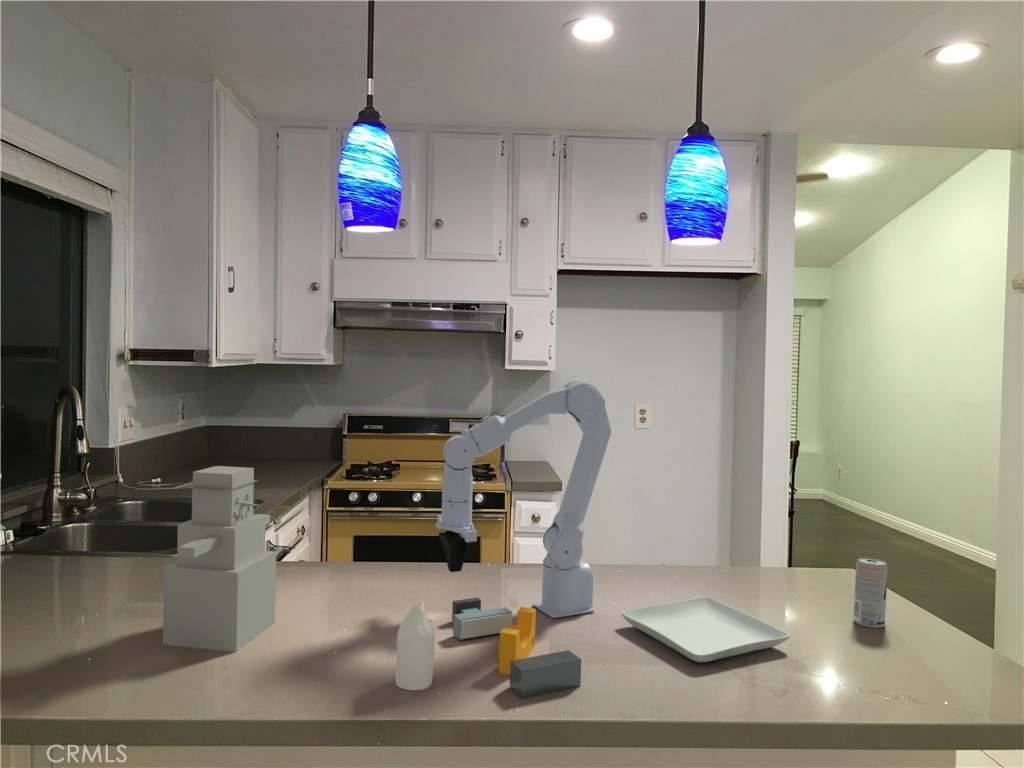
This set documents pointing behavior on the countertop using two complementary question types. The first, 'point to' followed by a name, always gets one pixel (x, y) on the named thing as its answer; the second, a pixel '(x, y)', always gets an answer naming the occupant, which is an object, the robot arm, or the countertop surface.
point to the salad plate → (705, 628)
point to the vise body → (545, 674)
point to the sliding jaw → (478, 619)
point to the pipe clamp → (517, 639)
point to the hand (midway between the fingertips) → (454, 570)
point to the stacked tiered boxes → (220, 566)
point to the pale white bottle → (415, 651)
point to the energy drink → (870, 592)
